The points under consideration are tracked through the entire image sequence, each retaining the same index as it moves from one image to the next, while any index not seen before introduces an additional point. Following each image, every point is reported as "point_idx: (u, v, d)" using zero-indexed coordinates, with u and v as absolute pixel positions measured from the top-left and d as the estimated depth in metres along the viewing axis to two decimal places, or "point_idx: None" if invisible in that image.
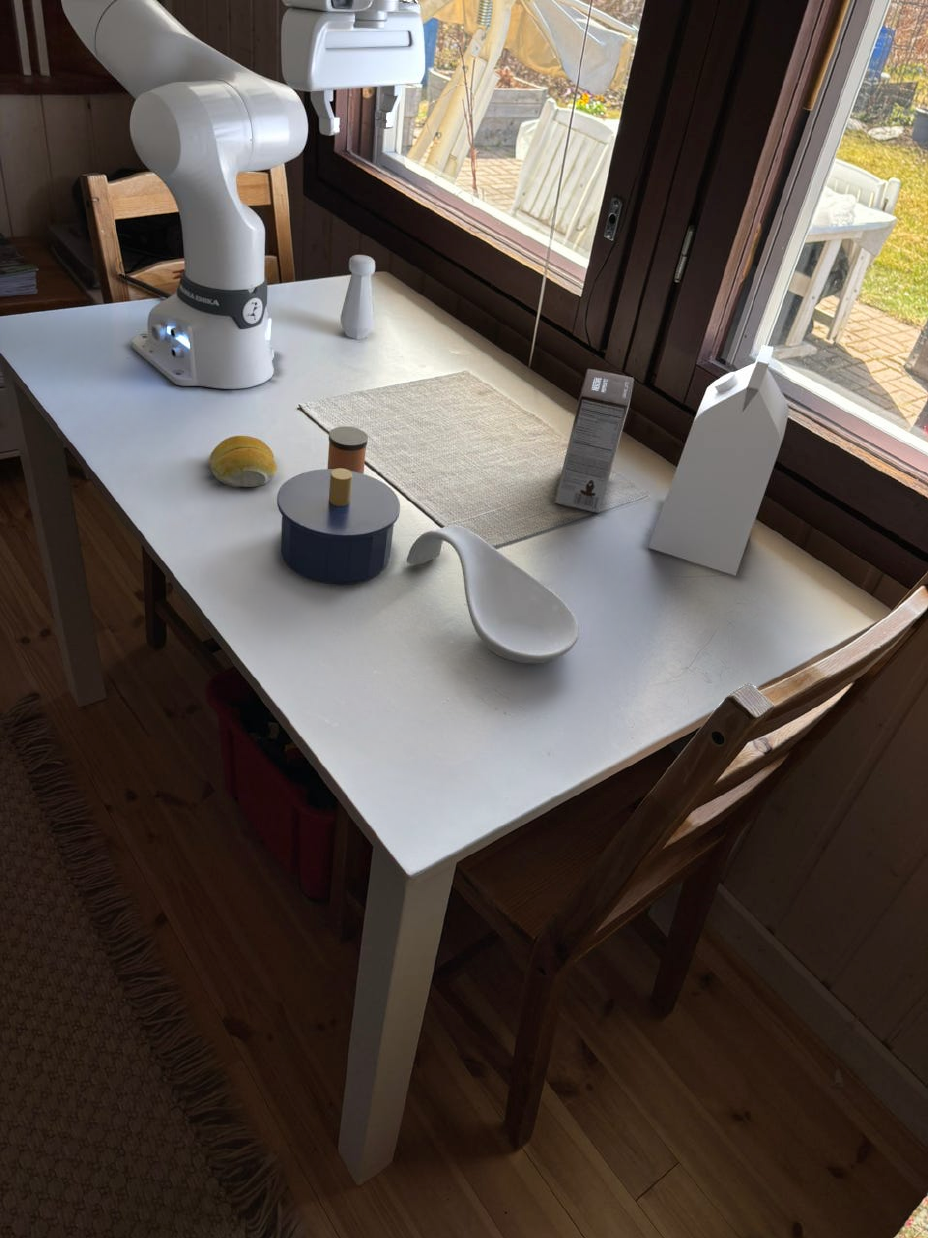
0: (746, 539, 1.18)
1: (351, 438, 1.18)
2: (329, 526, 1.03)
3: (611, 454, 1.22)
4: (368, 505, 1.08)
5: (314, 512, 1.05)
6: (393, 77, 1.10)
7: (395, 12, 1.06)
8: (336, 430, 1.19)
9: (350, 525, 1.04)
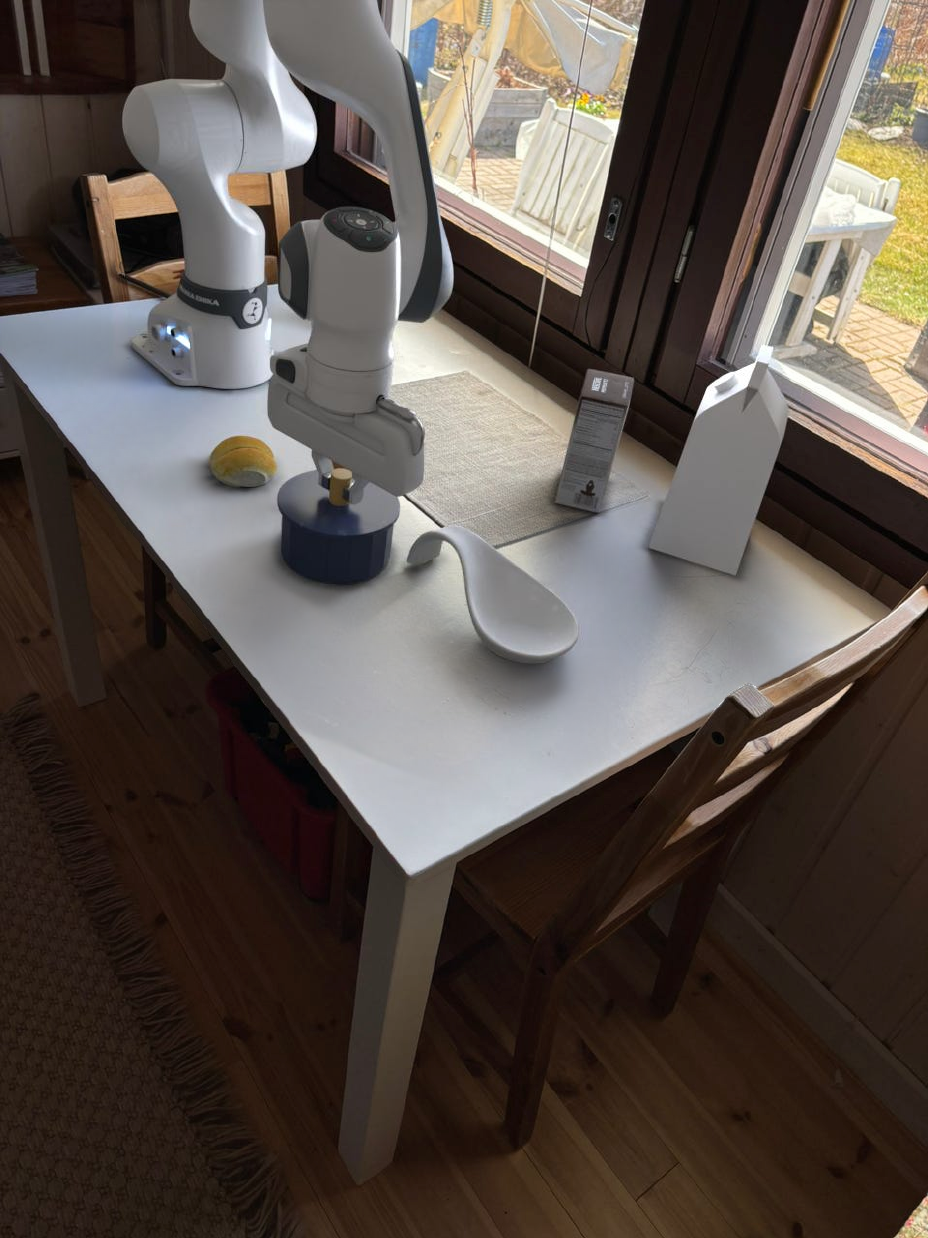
0: (746, 539, 1.18)
1: None
2: (329, 526, 1.03)
3: (611, 454, 1.22)
4: (368, 505, 1.08)
5: (314, 512, 1.05)
6: (359, 471, 1.01)
7: (367, 417, 0.97)
8: None
9: (350, 525, 1.04)
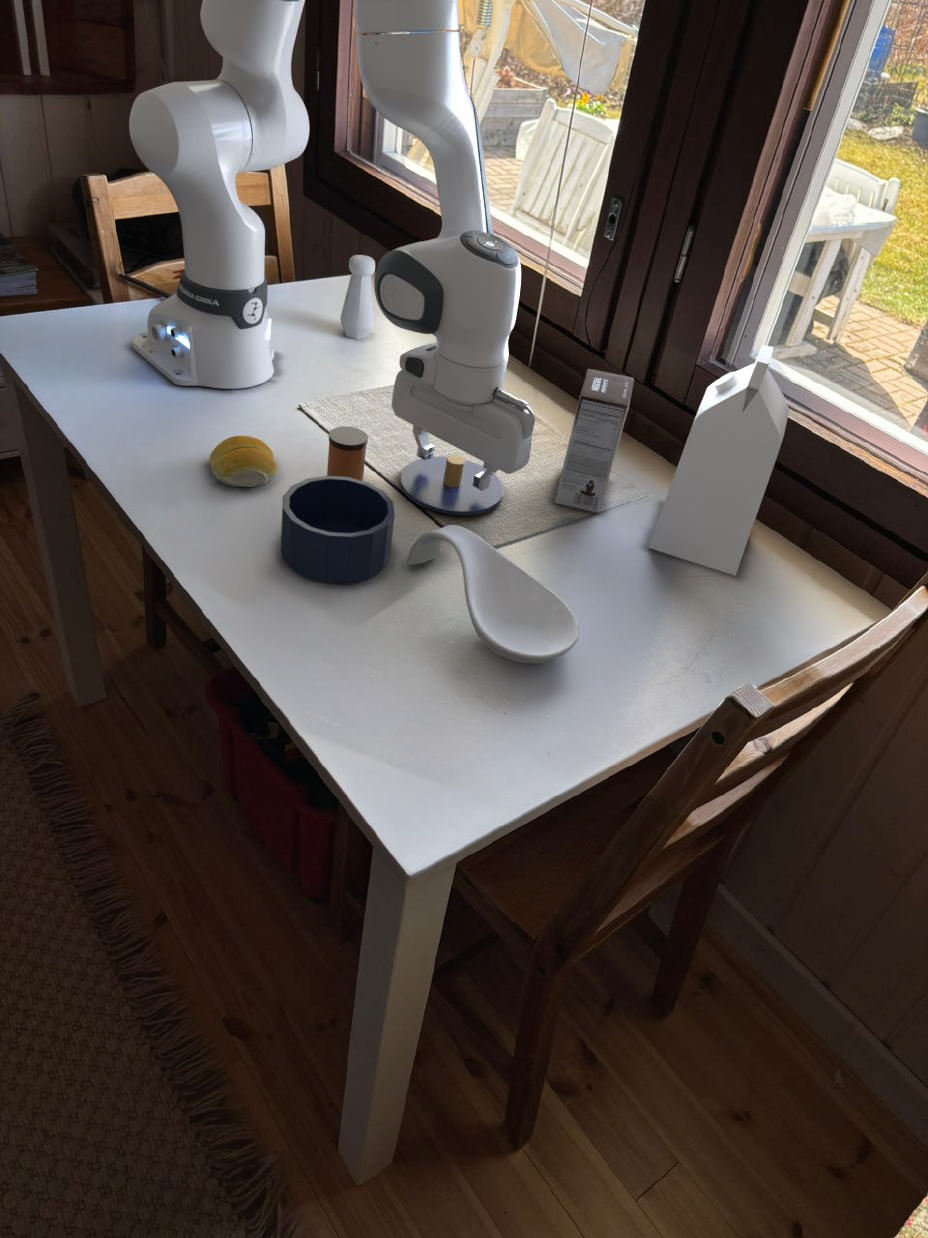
0: (746, 539, 1.18)
1: (351, 438, 1.18)
2: (447, 504, 1.22)
3: (611, 454, 1.22)
4: None
5: (433, 492, 1.23)
6: (474, 452, 1.19)
7: (485, 406, 1.15)
8: (336, 430, 1.19)
9: (464, 503, 1.22)
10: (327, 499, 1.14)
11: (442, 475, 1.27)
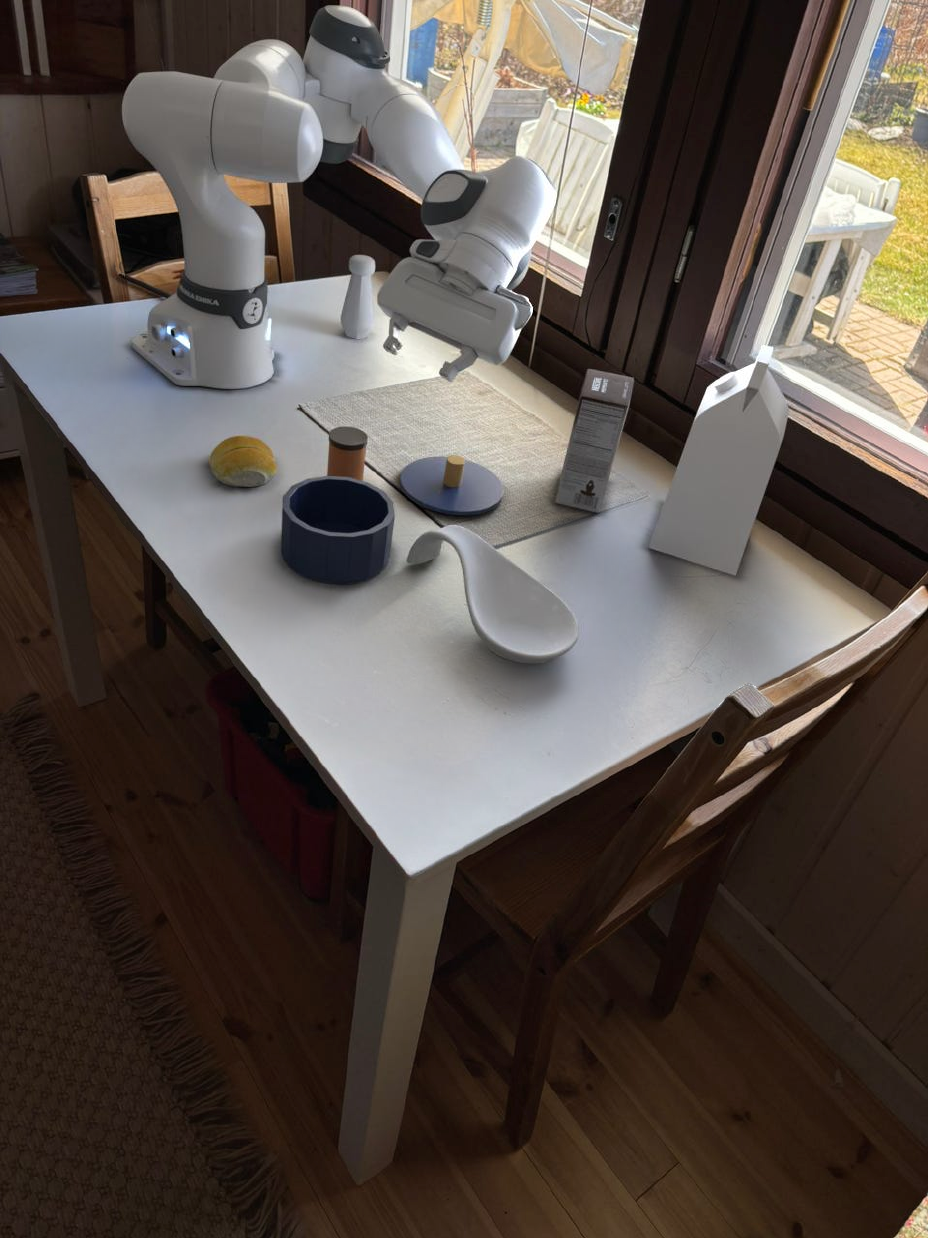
0: (746, 539, 1.18)
1: (351, 438, 1.18)
2: (447, 504, 1.22)
3: (611, 454, 1.22)
4: (476, 487, 1.26)
5: (433, 492, 1.23)
6: (459, 332, 1.19)
7: (487, 291, 1.20)
8: (336, 430, 1.19)
9: (464, 503, 1.22)
10: (327, 499, 1.14)
11: (442, 475, 1.27)
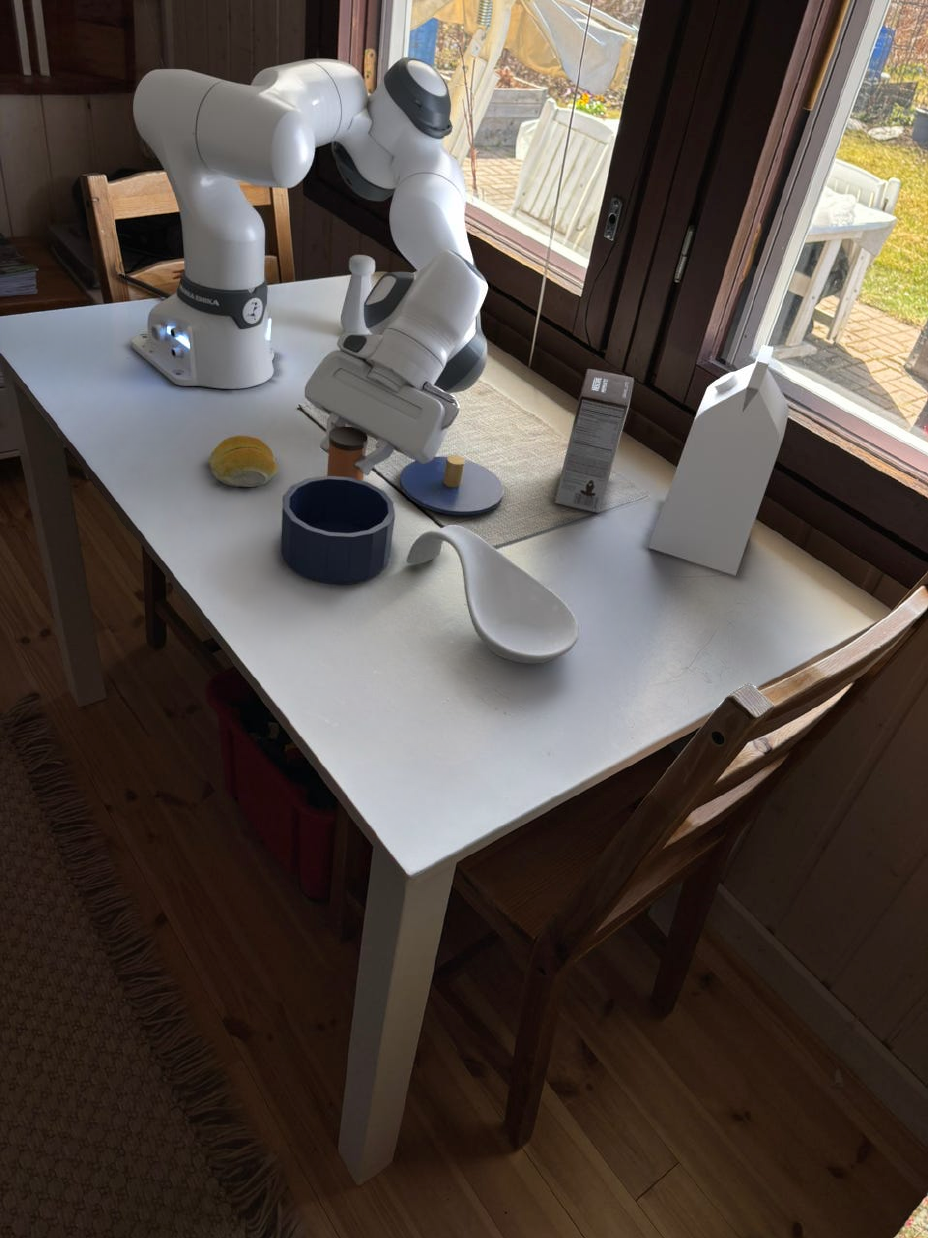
0: (746, 539, 1.18)
1: (351, 438, 1.18)
2: (447, 504, 1.22)
3: (611, 454, 1.22)
4: (476, 487, 1.26)
5: (433, 492, 1.23)
6: (384, 431, 1.17)
7: (414, 389, 1.17)
8: (336, 430, 1.19)
9: (464, 503, 1.22)
10: (327, 499, 1.14)
11: (442, 475, 1.27)
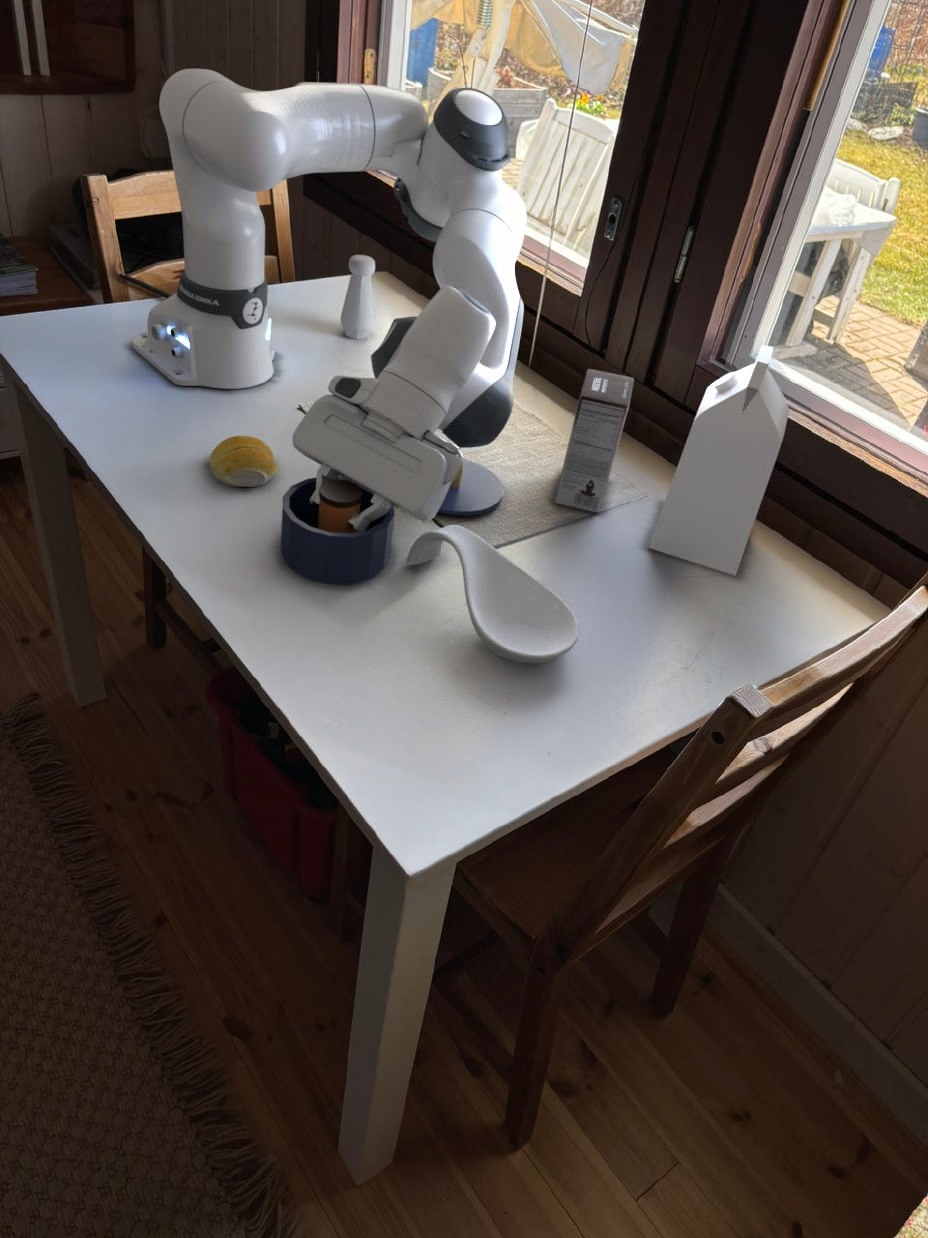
0: (746, 539, 1.18)
1: (344, 493, 1.06)
2: (447, 504, 1.22)
3: (611, 454, 1.22)
4: (476, 487, 1.26)
5: None
6: (380, 486, 1.05)
7: (413, 439, 1.06)
8: (327, 483, 1.07)
9: (464, 503, 1.22)
10: None
11: None
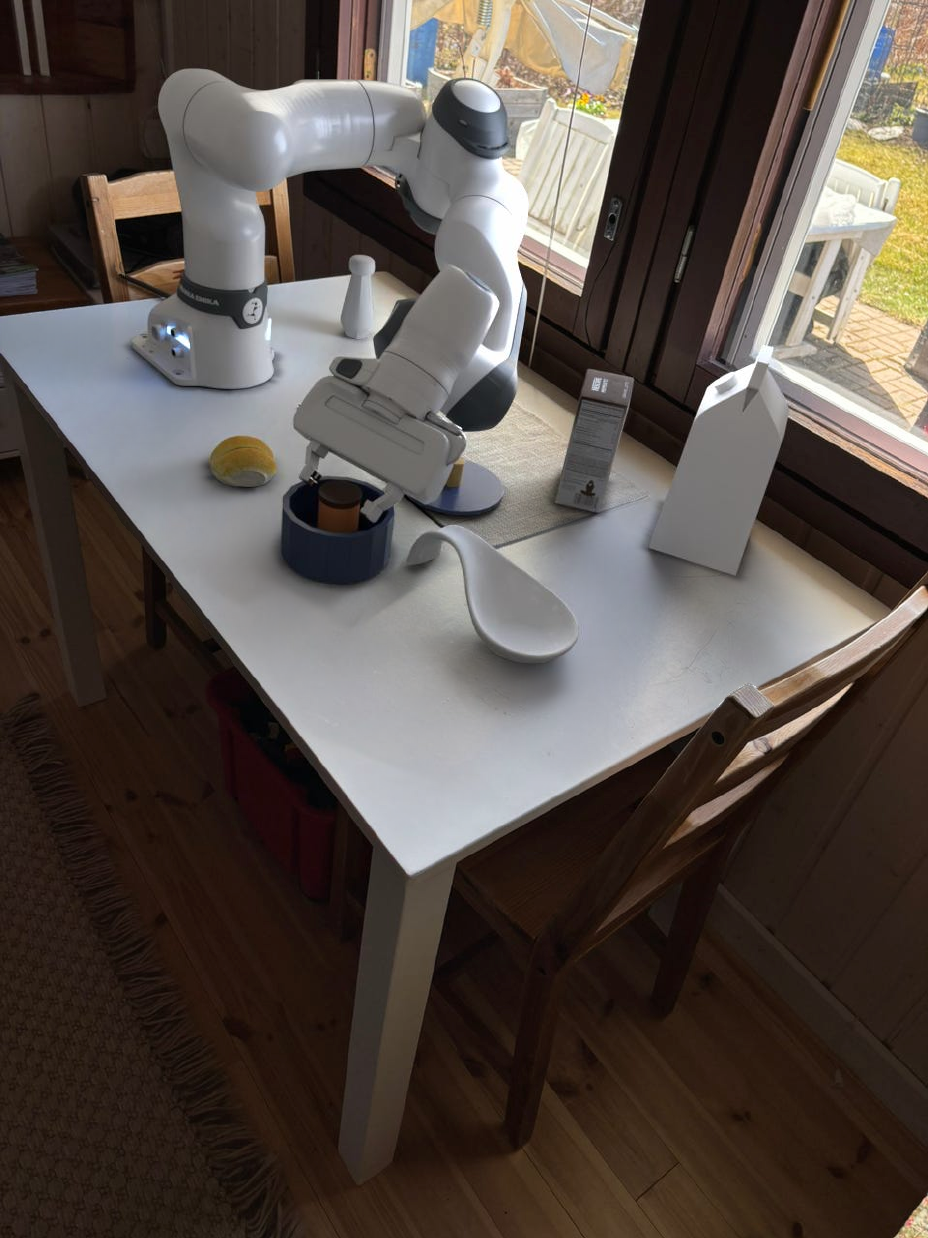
0: (746, 539, 1.18)
1: (343, 495, 1.06)
2: (447, 504, 1.22)
3: (611, 454, 1.22)
4: (476, 487, 1.26)
5: None
6: (382, 467, 1.04)
7: (415, 420, 1.04)
8: (327, 485, 1.07)
9: (464, 503, 1.22)
10: None
11: None
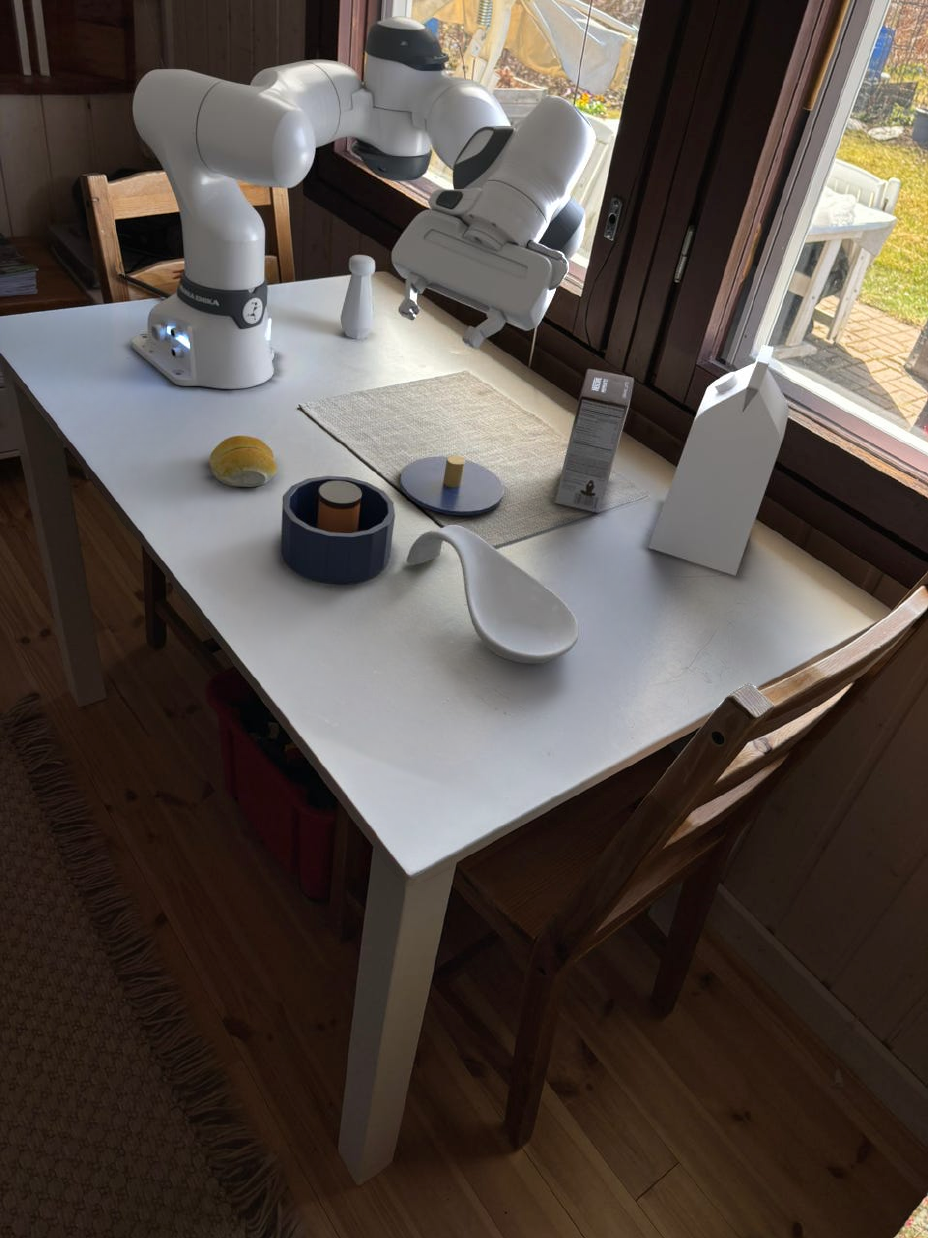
0: (746, 539, 1.18)
1: (343, 495, 1.06)
2: (447, 504, 1.22)
3: (611, 454, 1.22)
4: (476, 487, 1.26)
5: (433, 492, 1.23)
6: (485, 292, 1.05)
7: (517, 246, 1.05)
8: (327, 485, 1.07)
9: (464, 503, 1.22)
10: None
11: (442, 475, 1.27)
